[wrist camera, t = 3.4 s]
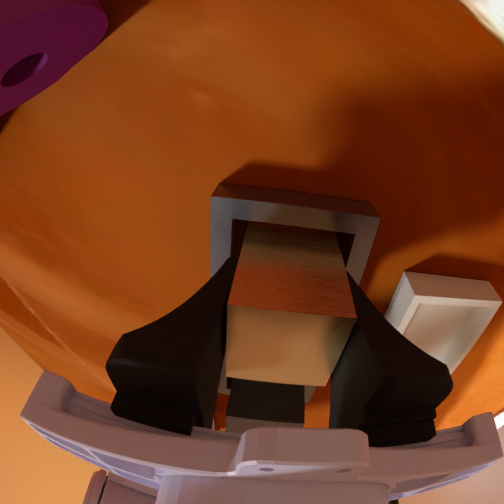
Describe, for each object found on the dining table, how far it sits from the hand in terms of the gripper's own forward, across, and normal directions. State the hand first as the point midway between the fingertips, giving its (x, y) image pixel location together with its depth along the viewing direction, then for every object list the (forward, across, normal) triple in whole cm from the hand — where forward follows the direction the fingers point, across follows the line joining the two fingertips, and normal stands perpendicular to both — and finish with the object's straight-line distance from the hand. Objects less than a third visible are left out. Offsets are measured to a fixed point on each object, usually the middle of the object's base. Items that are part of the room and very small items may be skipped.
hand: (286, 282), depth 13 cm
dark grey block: (+2, 0, +8) cm, 8 cm away
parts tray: (+2, -10, +4) cm, 11 cm away
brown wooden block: (+2, 0, 0) cm, 2 cm away
